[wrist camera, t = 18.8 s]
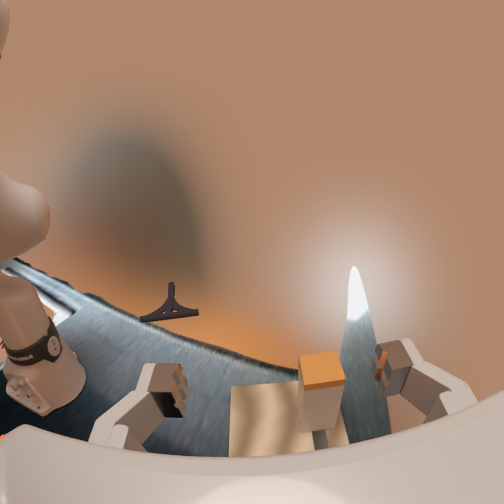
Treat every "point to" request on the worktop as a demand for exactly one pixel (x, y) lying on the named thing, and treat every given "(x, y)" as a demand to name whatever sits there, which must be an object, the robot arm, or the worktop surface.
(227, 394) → the worktop surface
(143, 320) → the bracket
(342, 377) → the orange-capped beige carton
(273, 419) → the subfloor panel
